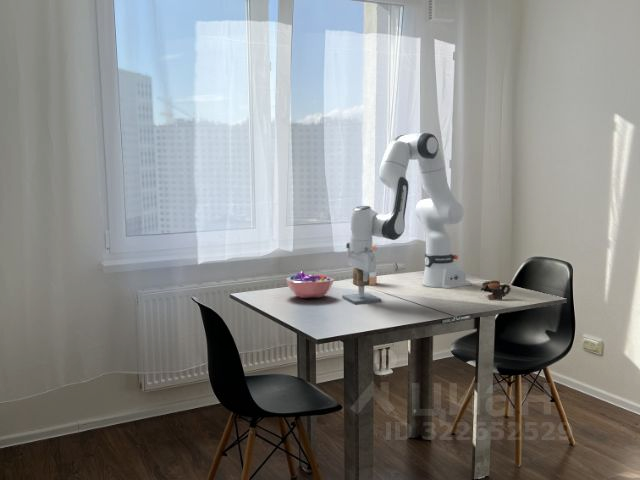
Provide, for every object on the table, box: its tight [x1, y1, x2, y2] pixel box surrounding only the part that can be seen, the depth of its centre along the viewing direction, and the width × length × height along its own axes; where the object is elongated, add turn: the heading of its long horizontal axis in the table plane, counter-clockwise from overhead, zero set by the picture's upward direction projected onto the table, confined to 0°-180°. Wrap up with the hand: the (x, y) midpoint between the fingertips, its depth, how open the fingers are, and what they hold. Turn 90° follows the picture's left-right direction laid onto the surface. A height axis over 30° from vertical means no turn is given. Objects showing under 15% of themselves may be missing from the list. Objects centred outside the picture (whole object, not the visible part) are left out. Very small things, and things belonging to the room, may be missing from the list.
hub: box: [341, 286, 382, 305], centre depth 263 cm, size 12×12×6 cm
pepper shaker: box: [369, 243, 377, 286], centre depth 294 cm, size 7×7×19 cm
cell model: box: [285, 270, 335, 299], centre depth 267 cm, size 17×20×11 cm
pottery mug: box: [480, 280, 512, 301], centre depth 266 cm, size 12×10×8 cm
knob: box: [352, 268, 370, 287], centre depth 262 cm, size 5×5×7 cm
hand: (361, 279), depth 262 cm, fingers closed on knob, 5 cm apart
